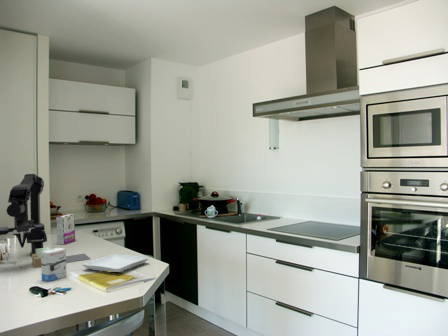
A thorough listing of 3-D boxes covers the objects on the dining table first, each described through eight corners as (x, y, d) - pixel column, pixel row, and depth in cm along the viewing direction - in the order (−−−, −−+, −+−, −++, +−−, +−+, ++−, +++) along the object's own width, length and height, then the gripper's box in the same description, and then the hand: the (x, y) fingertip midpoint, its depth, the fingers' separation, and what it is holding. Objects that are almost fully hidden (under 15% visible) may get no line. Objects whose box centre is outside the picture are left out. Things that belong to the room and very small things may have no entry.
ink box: (48, 282, 152) (47, 252, 152) (41, 280, 155) (40, 251, 154) (67, 276, 159) (66, 248, 159) (60, 274, 162) (59, 247, 162)
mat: (59, 257, 191) (59, 257, 191) (84, 254, 198) (84, 253, 198) (64, 263, 181) (64, 262, 181) (90, 259, 187) (90, 258, 187)
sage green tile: (35, 254, 183) (35, 249, 183) (49, 252, 187) (49, 247, 187) (38, 257, 176) (37, 252, 176) (52, 255, 179) (52, 250, 179)
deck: (32, 262, 184) (31, 254, 184) (60, 258, 191) (60, 250, 191) (35, 267, 174) (34, 259, 174) (65, 263, 181) (65, 254, 181)
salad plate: (114, 259, 186) (114, 252, 186) (149, 264, 177) (149, 256, 177) (80, 271, 167) (80, 263, 167) (118, 277, 158) (118, 268, 158)
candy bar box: (68, 240, 234) (67, 214, 234) (75, 240, 233) (74, 214, 233) (56, 244, 223) (55, 216, 223) (64, 245, 222) (63, 216, 222)
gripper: (-2, 217, 164) (-1, 253, 164) (45, 213, 174) (46, 247, 175) (-3, 215, 174) (-2, 249, 174) (42, 211, 184) (43, 243, 184)
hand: (22, 247), depth 176 cm, fingers closed
